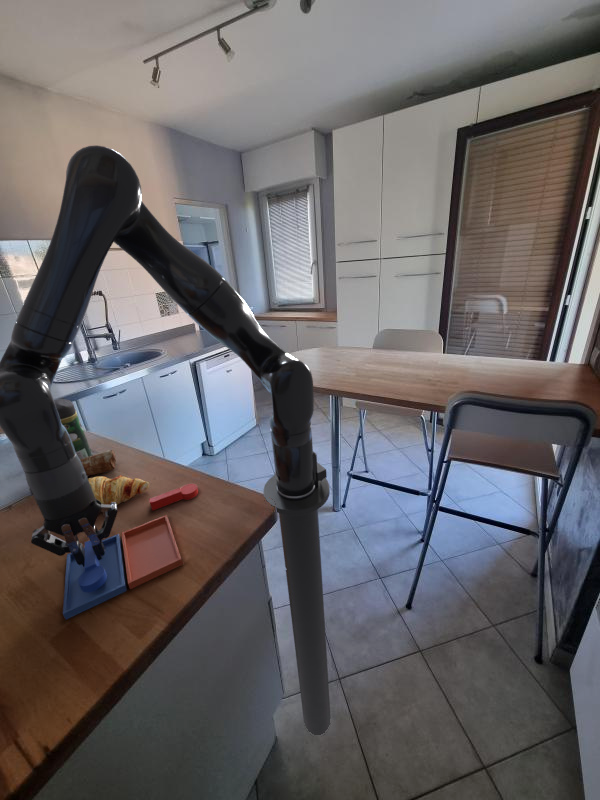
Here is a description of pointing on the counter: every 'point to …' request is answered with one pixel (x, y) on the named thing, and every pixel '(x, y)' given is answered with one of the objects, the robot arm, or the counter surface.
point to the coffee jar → (73, 427)
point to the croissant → (116, 488)
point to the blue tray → (112, 587)
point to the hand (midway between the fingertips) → (92, 559)
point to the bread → (99, 463)
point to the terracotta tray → (149, 551)
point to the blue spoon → (91, 571)
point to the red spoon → (174, 496)
